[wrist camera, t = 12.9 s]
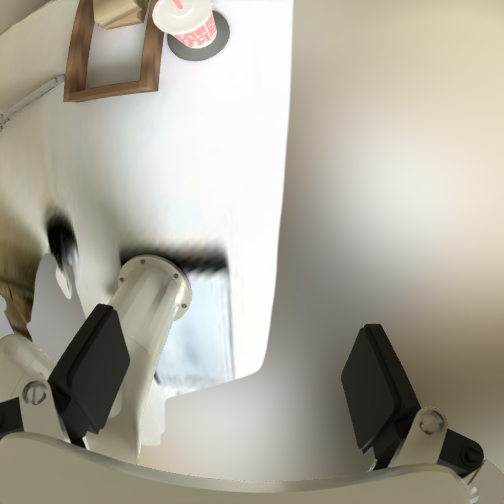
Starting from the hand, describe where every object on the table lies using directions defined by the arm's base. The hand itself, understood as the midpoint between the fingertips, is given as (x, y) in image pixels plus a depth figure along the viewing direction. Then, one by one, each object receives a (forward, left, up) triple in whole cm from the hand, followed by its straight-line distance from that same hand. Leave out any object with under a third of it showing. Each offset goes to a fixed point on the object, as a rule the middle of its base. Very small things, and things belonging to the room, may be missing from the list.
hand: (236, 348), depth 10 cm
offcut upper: (+3, +33, -26) cm, 42 cm away
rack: (-1, +29, -28) cm, 41 cm away
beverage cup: (+7, +21, -28) cm, 36 cm away
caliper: (-21, +36, -29) cm, 51 cm away
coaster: (+7, +21, -28) cm, 36 cm away
